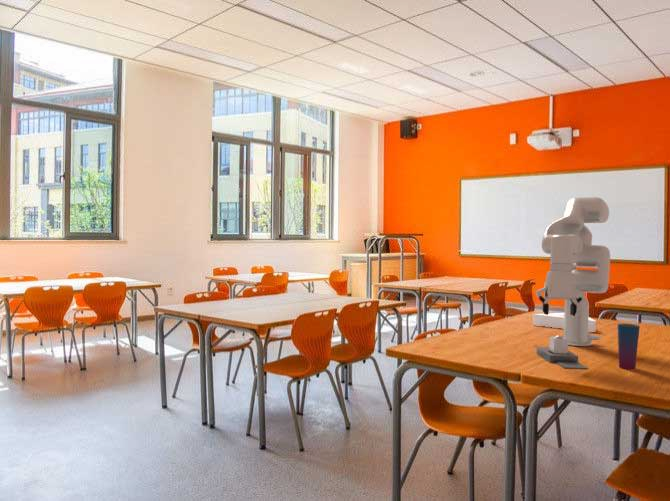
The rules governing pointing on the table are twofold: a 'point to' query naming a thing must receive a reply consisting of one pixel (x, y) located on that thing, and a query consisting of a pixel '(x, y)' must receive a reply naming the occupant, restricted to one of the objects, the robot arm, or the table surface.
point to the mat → (571, 365)
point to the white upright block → (558, 345)
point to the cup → (627, 345)
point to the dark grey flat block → (556, 356)
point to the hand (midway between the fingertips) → (559, 314)
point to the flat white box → (557, 321)
